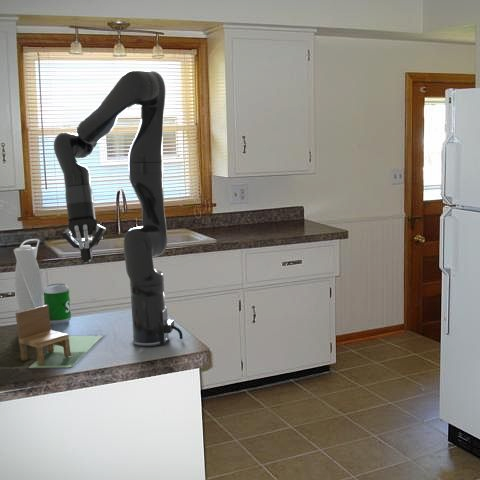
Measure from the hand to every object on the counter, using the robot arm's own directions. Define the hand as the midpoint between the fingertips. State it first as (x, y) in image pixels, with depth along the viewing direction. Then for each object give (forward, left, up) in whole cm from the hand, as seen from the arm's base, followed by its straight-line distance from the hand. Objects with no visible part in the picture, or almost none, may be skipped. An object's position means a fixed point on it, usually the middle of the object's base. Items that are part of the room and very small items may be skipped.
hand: (87, 261), depth 210 cm
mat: (+2, +14, -22) cm, 26 cm away
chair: (+6, +20, -22) cm, 30 cm away
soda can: (+15, -15, -22) cm, 31 cm away
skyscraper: (+19, -5, -22) cm, 30 cm away
